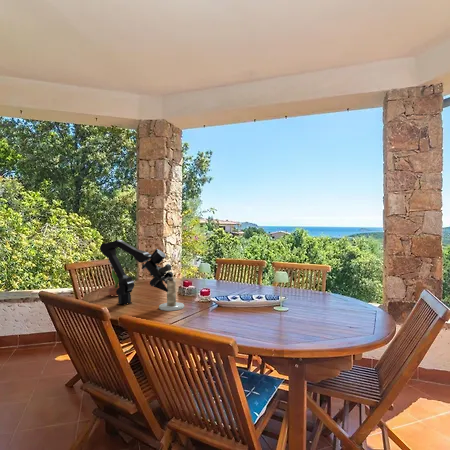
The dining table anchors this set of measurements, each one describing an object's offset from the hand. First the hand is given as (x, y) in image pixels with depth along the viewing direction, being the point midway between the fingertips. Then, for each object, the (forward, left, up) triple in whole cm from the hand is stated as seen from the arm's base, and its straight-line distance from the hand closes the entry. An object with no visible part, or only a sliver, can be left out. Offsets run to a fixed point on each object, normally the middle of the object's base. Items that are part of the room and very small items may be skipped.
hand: (171, 289), depth 189 cm
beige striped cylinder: (0, 0, -9) cm, 9 cm away
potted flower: (-1, +54, -10) cm, 55 cm away
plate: (0, 0, -10) cm, 10 cm away
